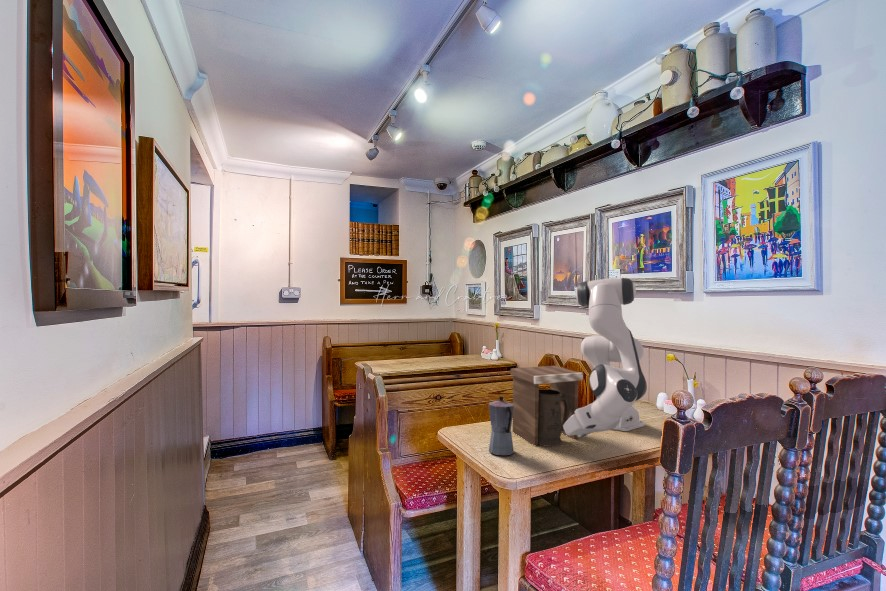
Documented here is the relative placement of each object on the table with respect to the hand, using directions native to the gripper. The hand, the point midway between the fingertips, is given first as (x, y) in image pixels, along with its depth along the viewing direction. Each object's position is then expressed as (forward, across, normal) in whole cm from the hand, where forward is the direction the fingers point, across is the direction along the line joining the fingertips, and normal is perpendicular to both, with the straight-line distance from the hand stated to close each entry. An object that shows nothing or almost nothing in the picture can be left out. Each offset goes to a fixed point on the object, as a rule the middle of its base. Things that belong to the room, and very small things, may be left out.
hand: (580, 435), depth 148 cm
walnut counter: (+21, 0, -10) cm, 23 cm away
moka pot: (+14, +24, -3) cm, 29 cm away
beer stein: (+17, 0, -6) cm, 19 cm away
